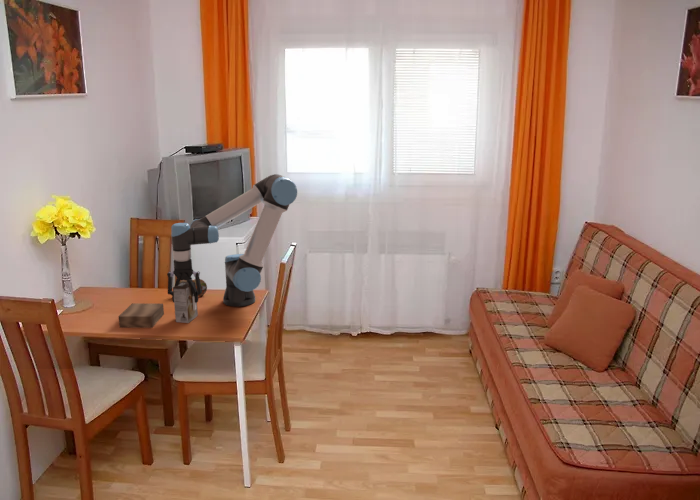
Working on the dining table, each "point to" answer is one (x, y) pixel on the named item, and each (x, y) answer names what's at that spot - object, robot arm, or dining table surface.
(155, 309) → the walnut plinth
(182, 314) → the coffee box
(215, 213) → the robot arm
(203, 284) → the tin
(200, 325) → the dining table surface
